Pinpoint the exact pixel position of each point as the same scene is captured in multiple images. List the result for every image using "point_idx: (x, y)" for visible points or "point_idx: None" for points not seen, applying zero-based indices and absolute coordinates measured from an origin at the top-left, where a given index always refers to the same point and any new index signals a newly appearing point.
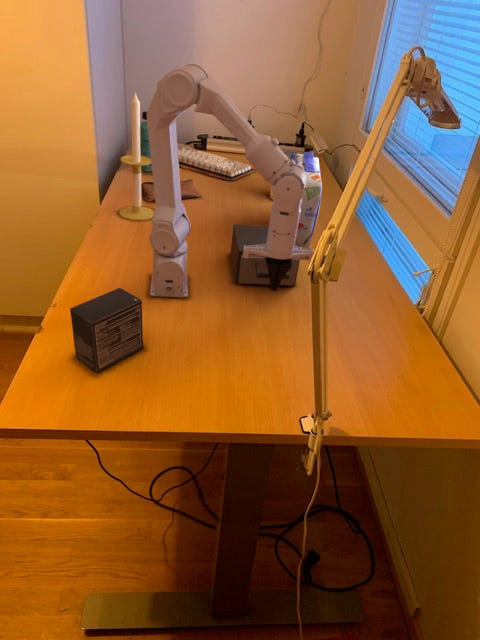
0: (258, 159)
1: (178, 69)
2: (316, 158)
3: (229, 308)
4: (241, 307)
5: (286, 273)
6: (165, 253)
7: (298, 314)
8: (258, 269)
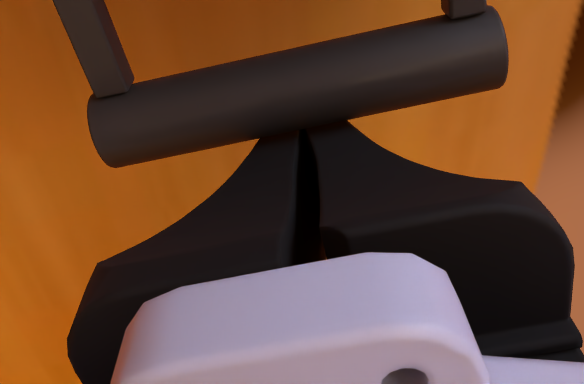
0: None
1: None
2: None
3: (35, 204)
4: (106, 173)
5: (469, 77)
6: None
7: (496, 151)
8: (86, 25)
